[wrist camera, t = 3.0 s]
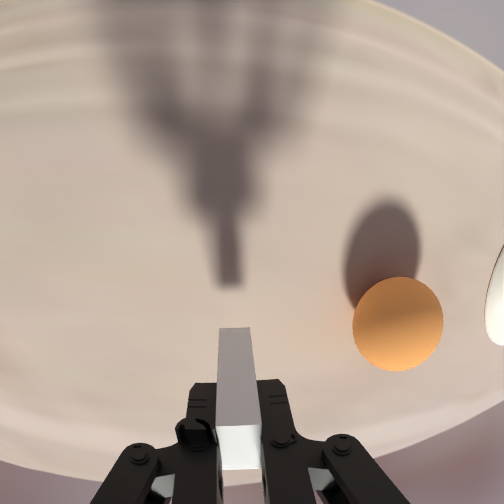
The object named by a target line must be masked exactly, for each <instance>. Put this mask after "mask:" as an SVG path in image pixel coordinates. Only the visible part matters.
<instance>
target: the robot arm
mask: <svg viewBox="0 0 504 504" xmlns="http://www.w3.org/2000/svg"><path fill="white" fill-rule="evenodd" d="M188 400H189V401H188V406H187V407H188V408H187V413H186V418H184V419H182V420H181V421H180V422H178V423H177V425H176V427H175V432H176V435H177V439H178V442H177V443H176V444H174V445H172V446H169V447H165V448H160V449H155V448H154V447H153V446H151V445H149V444H146V443H135V444H132V445H130V446H128V447H126V448H125V449H124V450H123V452H122V453H121V455H120V456H119V458H118V460H117V461H116V463H115V464H114V466H113V468H112V469H111V471H110V472H109V474H108V476H107V477H106V479H105V480H104V482H103V483H102V485H101V487H100V488H99V490H98V491H97V493H96V495H95V496H94V498H93V499H92V501H91V503H90V504H169V503H170V500H171V498H172V504H223V478H222V470H241V469H260V468H262V489H263V493H264V501H265V504H316V500H315V496H314V492H313V490H316V492H317V493H318V495H319V497H320V498H321V500H322V502H323V503H324V504H410V503H409V501H408V500H407V499H406V498H405V497H404V496H403V494H402V493H401V492H400V491H399V490H398V488H397V487H396V486H395V485H394V484H393V482H392V481H391V480H390V479H389V478H388V476H387V475H386V474H385V473H384V472H383V470H382V469H381V468H380V467H379V466H378V464H377V463H376V462H375V460H374V459H373V458H372V457H371V456H370V454H369V453H368V452H367V451H366V449H365V448H364V447H363V446H362V444H361V443H360V442H359V441H358V440H357V439H356V438H355V437H353V436H350V435H348V434H337V435H333V436H331V437H329V438H328V439H327V440H326V441H325V442H324V441H314V440H309V439H306V438H304V437H302V436H301V435H299V433H298V432H297V431H296V429H295V427H294V422H293V418H292V414H291V410H290V405H289V401H288V397H287V393H286V389H285V386H284V385H283V384H282V382H281V381H280V380H279V379H272V380H256V374H255V366H254V358H253V350H252V342H251V333H250V327H248V328H223V329H219V347H218V370H217V383H195V384H194V386H193V387H192V388H191V390H190V392H189V399H188Z"/></svg>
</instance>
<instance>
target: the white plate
mask: <svg viewBox="0 0 504 504" xmlns="http://www.w3.org/2000/svg"><path fill="white" fill-rule="evenodd" d="M485 326H486V331H487V333H488V336H489V337H490V339H491V340H492V341H493V342H495V343H496V344H498V345H504V248H503V249H502V252H501V254H500V256H499V258H498V260H497V263H496V265H495V268H494V271H493V274H492V277H491V280H490V284H489V287H488V292H487V296H486V303H485Z"/></svg>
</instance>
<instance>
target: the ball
mask: <svg viewBox="0 0 504 504" xmlns="http://www.w3.org/2000/svg"><path fill="white" fill-rule="evenodd" d="M442 330H443V313H442V308H441V305H440V303H439V301H438V299H437V297H436V296H435V294H434V293H433V292H432V290H431V289H430V288H428V287H427V286H426V285H425V284H423V283H422V282H420V281H418V280H415V279H412V278H408V277H392V278H388V279H385V280H382V281H380V282H378V283H377V284H375V285H374V286H372V287H371V288H370V289H369V290H368V291H367V292H366V293H365V294H364V295H363V297H362V298H361V299H360V301H359V303H358V305H357V307H356V310H355V313H354V317H353V336H354V340H355V343H356V345H357V347H358V349H359V351H360V353H361V354H362V355H363V356H364V358H365V359H366V360H367V361H369V362H370V363H371V364H373V365H374V366H376V367H378V368H381V369H384V370H388V371H403V370H408V369H411V368H413V367H415V366H417V365H419V364H421V363H422V362H424V361H425V360H426V359H427V358H428V357H429V356H430V355H431V354H432V353H433V351H434V350H435V348H436V347H437V345H438V343H439V341H440V338H441V335H442Z"/></svg>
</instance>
